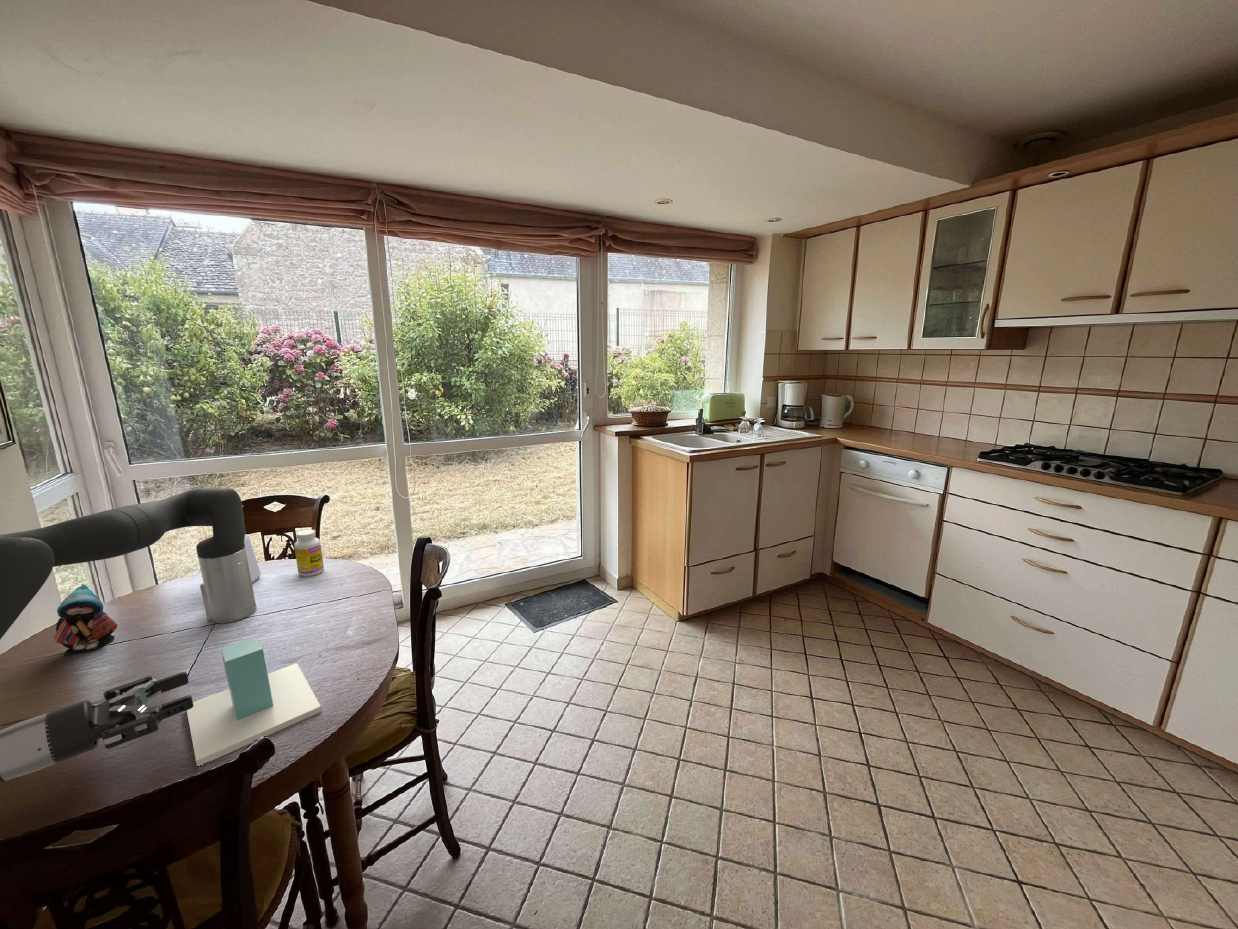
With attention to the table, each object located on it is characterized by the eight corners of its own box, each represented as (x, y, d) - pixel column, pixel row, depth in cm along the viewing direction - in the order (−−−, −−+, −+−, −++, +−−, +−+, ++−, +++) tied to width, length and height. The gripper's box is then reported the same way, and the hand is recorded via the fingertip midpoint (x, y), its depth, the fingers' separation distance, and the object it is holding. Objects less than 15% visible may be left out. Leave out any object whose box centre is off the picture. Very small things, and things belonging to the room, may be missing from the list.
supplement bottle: (312, 578, 146) (306, 537, 143) (293, 576, 147) (286, 535, 144) (329, 568, 152) (323, 529, 149) (311, 566, 153) (305, 527, 150)
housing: (237, 720, 89) (225, 661, 86) (232, 705, 93) (220, 648, 90) (273, 705, 93) (262, 648, 90) (267, 691, 96) (256, 636, 94)
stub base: (197, 767, 81) (189, 734, 79) (187, 710, 93) (180, 680, 92) (321, 711, 93) (316, 682, 91) (297, 668, 105) (293, 641, 104)
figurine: (55, 665, 106) (36, 601, 103) (62, 649, 112) (44, 588, 108) (120, 647, 112) (104, 587, 109) (124, 633, 118) (108, 575, 114)
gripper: (37, 744, 68) (190, 689, 80) (47, 694, 78) (182, 651, 89) (51, 789, 70) (199, 729, 81) (59, 734, 80) (190, 687, 91)
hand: (190, 688), depth 85 cm, fingers open, 8 cm apart
